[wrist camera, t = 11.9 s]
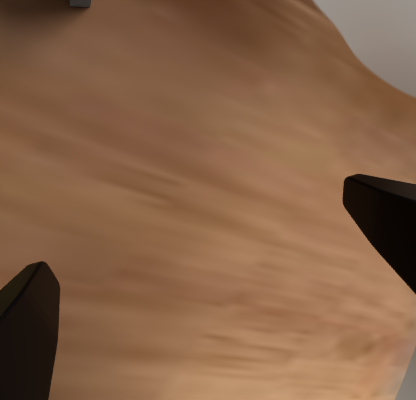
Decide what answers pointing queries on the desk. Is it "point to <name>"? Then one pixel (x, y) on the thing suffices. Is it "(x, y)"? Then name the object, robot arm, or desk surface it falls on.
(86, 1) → the open side box
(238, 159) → the desk surface
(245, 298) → the desk surface
